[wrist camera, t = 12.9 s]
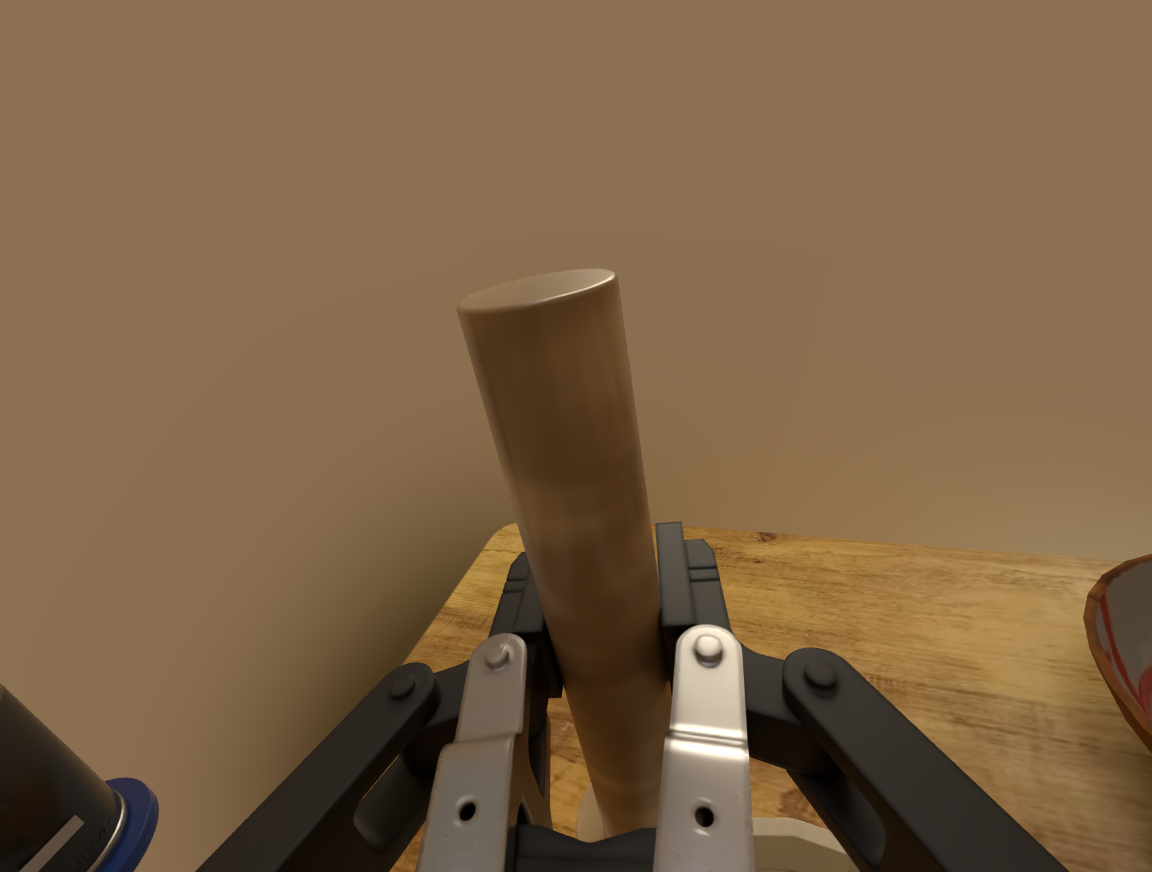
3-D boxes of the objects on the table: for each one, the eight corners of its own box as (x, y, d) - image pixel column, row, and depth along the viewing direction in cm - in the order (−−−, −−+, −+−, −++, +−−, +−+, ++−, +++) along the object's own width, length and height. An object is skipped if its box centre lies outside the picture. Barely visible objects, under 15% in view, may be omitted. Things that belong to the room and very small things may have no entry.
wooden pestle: (580, 945, 14) (339, 347, 6) (592, 781, 18) (451, 283, 10) (738, 956, 13) (691, 292, 6) (714, 782, 17) (666, 245, 9)
